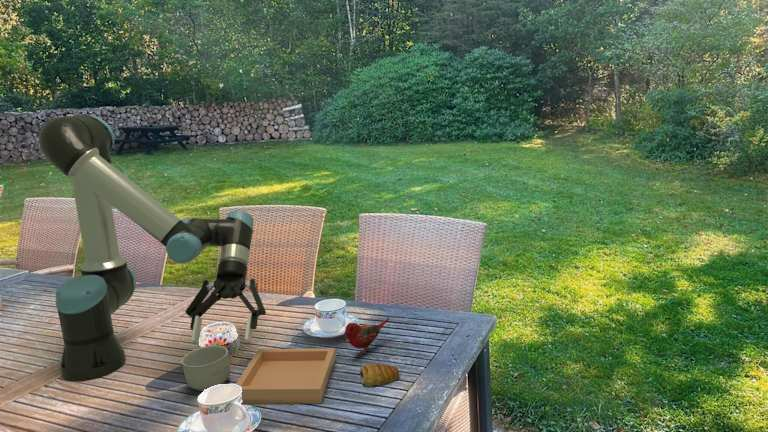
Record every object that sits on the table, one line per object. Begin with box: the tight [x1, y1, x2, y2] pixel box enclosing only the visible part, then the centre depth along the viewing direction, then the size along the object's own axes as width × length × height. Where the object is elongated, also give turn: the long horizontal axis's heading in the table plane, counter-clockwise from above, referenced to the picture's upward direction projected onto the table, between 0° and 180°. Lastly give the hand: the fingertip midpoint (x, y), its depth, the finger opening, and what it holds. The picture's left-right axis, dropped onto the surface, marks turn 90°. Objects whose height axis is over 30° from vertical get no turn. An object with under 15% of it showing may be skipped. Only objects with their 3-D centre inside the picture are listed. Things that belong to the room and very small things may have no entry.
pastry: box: [359, 362, 400, 387], centre depth 135 cm, size 9×7×4 cm
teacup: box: [180, 342, 231, 392], centre depth 138 cm, size 14×11×8 cm
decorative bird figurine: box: [343, 317, 390, 356], centre depth 150 cm, size 3×18×10 cm, turn 139°
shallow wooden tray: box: [235, 347, 337, 404], centre depth 136 cm, size 20×20×4 cm
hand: (220, 342), depth 140 cm, fingers open, 13 cm apart
